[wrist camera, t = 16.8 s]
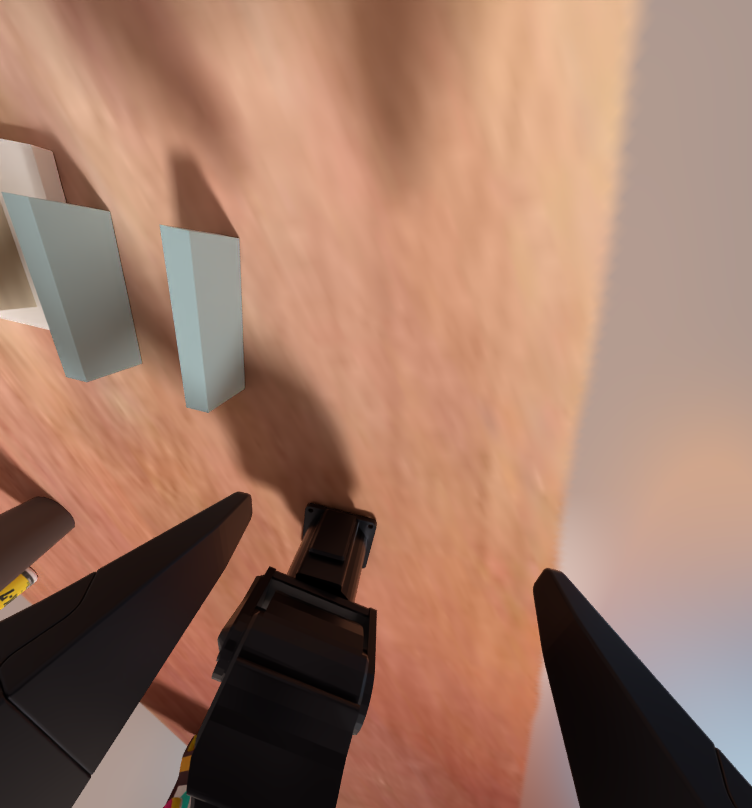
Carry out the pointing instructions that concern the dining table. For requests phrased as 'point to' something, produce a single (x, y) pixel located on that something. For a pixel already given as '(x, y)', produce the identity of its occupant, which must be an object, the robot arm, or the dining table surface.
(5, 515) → the coffee cup
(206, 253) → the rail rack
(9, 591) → the supplement bottle
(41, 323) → the ceramic tile
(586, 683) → the robot arm
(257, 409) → the dining table surface
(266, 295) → the dining table surface
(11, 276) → the maple block
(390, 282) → the dining table surface
